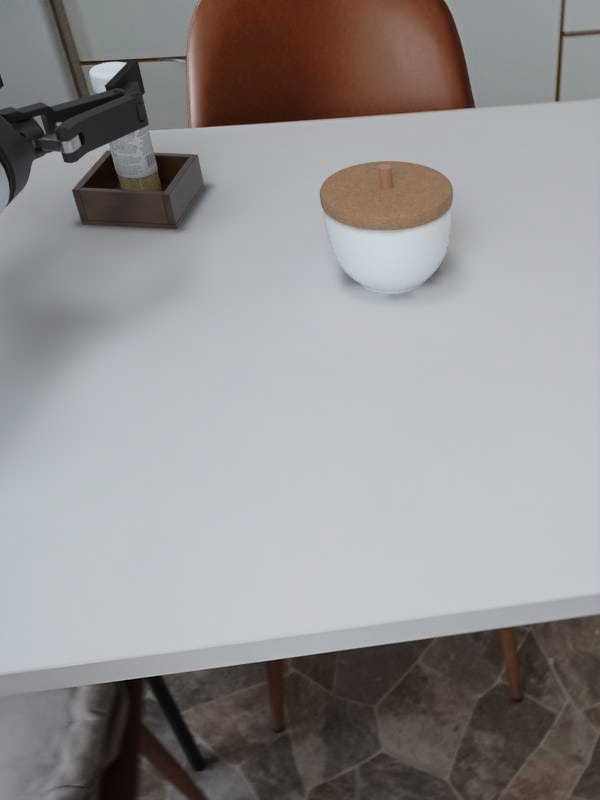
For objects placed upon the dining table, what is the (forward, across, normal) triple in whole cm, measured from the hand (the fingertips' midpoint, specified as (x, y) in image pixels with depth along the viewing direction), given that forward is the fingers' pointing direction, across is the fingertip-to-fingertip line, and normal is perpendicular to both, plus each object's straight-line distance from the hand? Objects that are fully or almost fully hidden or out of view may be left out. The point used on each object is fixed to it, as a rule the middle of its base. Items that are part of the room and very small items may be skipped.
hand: (66, 72), depth 89 cm
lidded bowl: (-3, -30, +17) cm, 35 cm away
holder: (+10, 0, +17) cm, 19 cm away
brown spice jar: (+10, 0, +16) cm, 19 cm away
